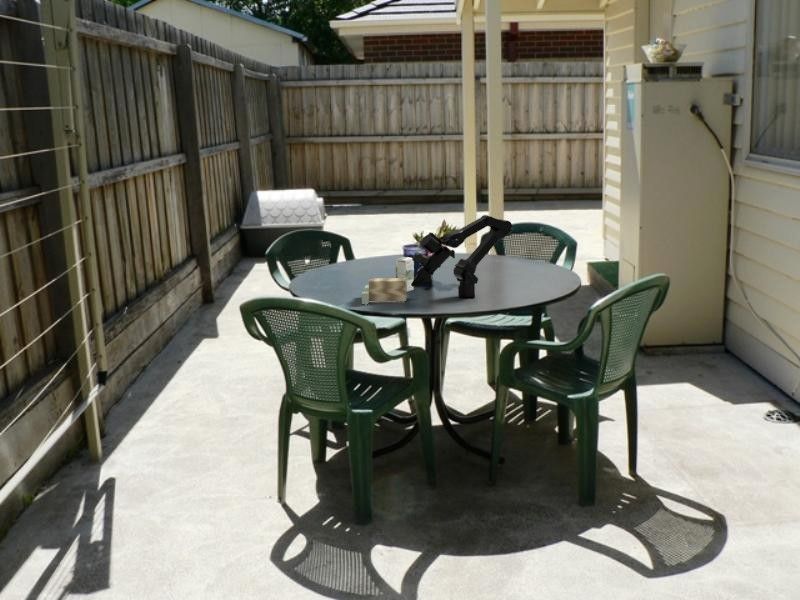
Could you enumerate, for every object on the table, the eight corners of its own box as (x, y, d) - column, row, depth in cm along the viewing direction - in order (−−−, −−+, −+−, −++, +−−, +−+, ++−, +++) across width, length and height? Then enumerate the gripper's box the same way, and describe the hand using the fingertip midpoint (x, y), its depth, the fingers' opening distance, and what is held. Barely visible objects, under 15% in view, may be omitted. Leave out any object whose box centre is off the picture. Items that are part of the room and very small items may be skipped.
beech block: (406, 299, 364) (406, 278, 362) (405, 302, 358) (405, 281, 356) (370, 299, 365) (370, 278, 363) (369, 302, 360) (368, 281, 357)
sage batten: (372, 296, 370) (371, 285, 369) (368, 305, 354) (367, 293, 353) (366, 296, 370) (365, 285, 369) (362, 305, 355) (361, 293, 353)
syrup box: (404, 288, 384) (403, 256, 380) (414, 290, 380) (413, 257, 377) (395, 291, 379) (395, 258, 376) (406, 292, 376) (405, 259, 372)
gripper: (424, 241, 365) (399, 267, 368) (421, 249, 346) (395, 277, 350) (443, 259, 366) (418, 285, 369) (442, 268, 348) (415, 295, 351)
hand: (411, 285), depth 360 cm, fingers closed
